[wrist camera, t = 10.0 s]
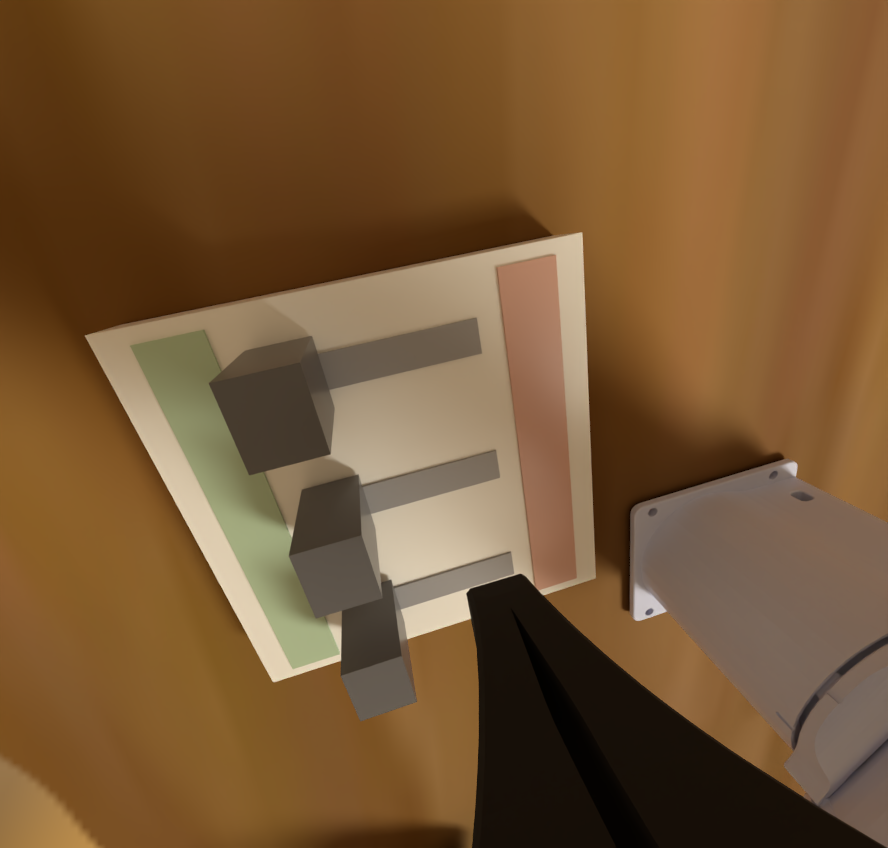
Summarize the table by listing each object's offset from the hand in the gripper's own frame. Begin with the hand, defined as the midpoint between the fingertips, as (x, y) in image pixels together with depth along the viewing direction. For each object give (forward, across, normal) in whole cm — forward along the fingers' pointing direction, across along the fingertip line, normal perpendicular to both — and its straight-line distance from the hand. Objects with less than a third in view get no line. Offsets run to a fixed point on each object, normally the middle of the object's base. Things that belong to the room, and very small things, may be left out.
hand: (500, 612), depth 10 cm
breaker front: (+6, +4, -5) cm, 9 cm away
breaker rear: (+6, +4, +5) cm, 9 cm away
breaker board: (+8, +1, 0) cm, 9 cm away
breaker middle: (+6, +4, 0) cm, 7 cm away
